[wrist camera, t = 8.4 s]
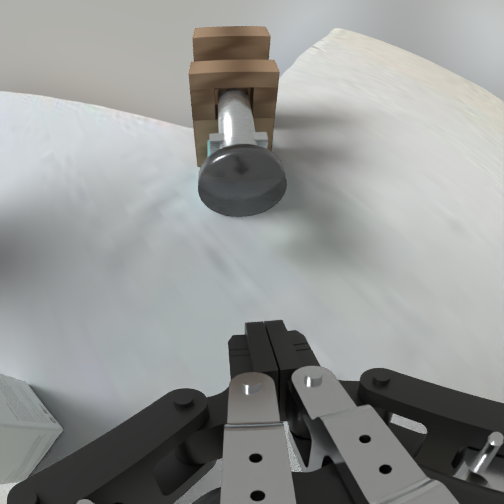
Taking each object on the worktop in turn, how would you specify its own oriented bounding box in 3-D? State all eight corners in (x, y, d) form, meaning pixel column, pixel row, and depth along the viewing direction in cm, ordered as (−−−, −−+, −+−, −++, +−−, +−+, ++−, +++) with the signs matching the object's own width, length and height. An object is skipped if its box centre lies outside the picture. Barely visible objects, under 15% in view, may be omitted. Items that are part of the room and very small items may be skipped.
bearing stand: (197, 166, 33) (187, 59, 22) (200, 115, 39) (195, 28, 28) (269, 163, 34) (281, 57, 23) (259, 113, 40) (265, 26, 29)
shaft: (206, 248, 27) (194, 158, 18) (207, 115, 38) (203, 45, 29) (275, 245, 27) (292, 155, 19) (253, 113, 38) (257, 44, 30)
